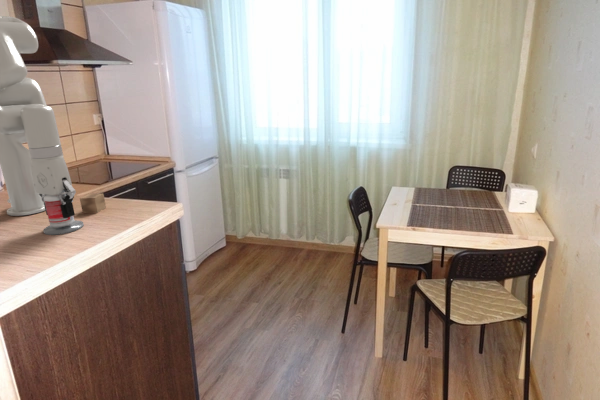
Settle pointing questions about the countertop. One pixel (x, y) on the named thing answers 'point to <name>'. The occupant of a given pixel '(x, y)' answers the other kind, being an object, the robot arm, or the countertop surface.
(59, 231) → the coaster
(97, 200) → the light brown wooden block
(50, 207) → the pill bottle
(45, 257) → the countertop surface
